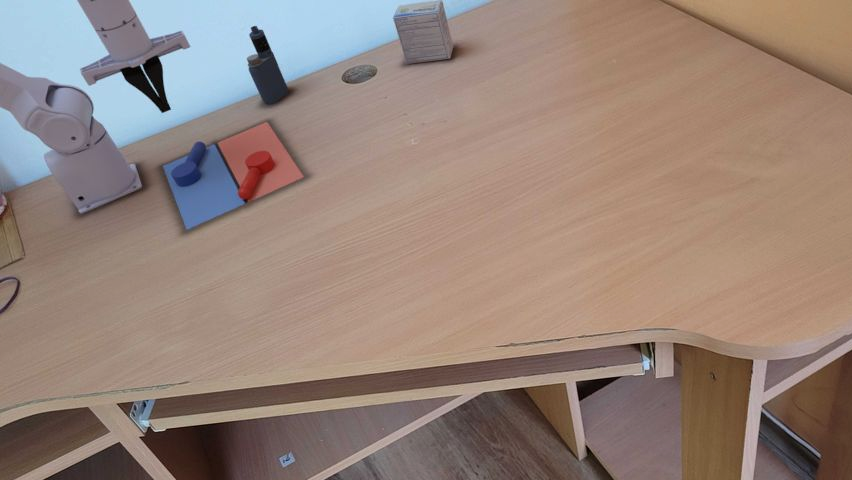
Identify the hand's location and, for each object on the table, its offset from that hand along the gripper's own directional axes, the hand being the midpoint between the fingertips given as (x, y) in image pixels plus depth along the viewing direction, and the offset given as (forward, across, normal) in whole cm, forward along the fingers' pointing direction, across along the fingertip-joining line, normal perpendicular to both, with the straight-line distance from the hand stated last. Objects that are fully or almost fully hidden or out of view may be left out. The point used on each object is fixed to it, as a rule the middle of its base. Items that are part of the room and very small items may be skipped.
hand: (165, 108), depth 105 cm
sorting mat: (+9, +4, -8) cm, 13 cm away
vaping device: (+10, +16, +9) cm, 21 cm away
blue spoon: (+9, 0, -3) cm, 9 cm away
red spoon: (+9, +7, -13) cm, 18 cm away
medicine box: (+10, +42, +2) cm, 44 cm away
